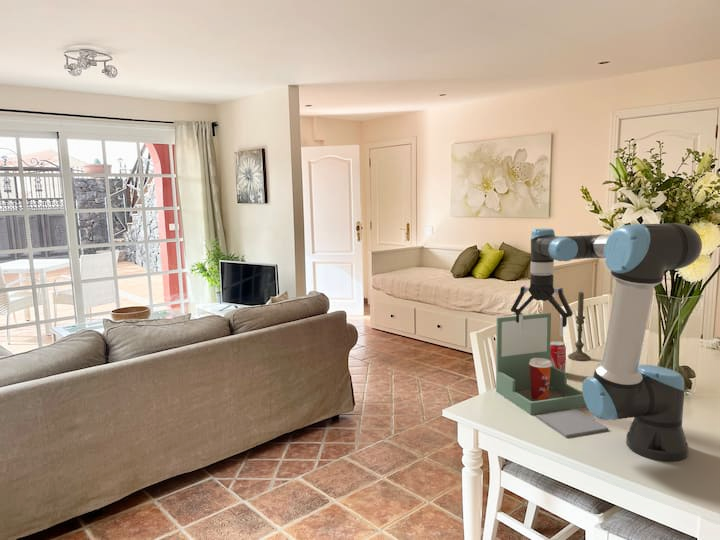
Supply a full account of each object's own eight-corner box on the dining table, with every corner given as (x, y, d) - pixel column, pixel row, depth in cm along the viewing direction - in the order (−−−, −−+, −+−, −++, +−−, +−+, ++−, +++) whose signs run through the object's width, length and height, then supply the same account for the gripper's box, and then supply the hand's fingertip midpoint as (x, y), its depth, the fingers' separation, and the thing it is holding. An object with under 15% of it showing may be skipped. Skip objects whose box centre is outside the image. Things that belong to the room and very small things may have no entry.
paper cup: (547, 404, 178) (548, 365, 176) (525, 399, 183) (525, 361, 181) (554, 397, 184) (555, 359, 182) (532, 392, 189) (533, 355, 187)
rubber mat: (608, 430, 157) (608, 427, 157) (565, 437, 153) (566, 435, 153) (575, 411, 172) (575, 409, 172) (536, 417, 168) (536, 415, 168)
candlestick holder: (589, 355, 230) (591, 289, 226) (591, 361, 222) (593, 293, 218) (567, 354, 233) (568, 288, 229) (568, 360, 224) (570, 292, 220)
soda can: (567, 372, 209) (567, 341, 207) (563, 378, 203) (563, 346, 201) (548, 370, 213) (549, 339, 211) (544, 375, 207) (545, 343, 205)
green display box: (587, 406, 176) (589, 325, 172) (530, 414, 170) (531, 332, 166) (547, 384, 197) (549, 312, 193) (496, 391, 191) (496, 317, 187)
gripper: (582, 273, 174) (580, 334, 177) (508, 270, 187) (507, 327, 190) (579, 277, 168) (577, 340, 171) (502, 273, 180) (502, 332, 183)
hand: (540, 333), depth 180 cm, fingers open, 13 cm apart
